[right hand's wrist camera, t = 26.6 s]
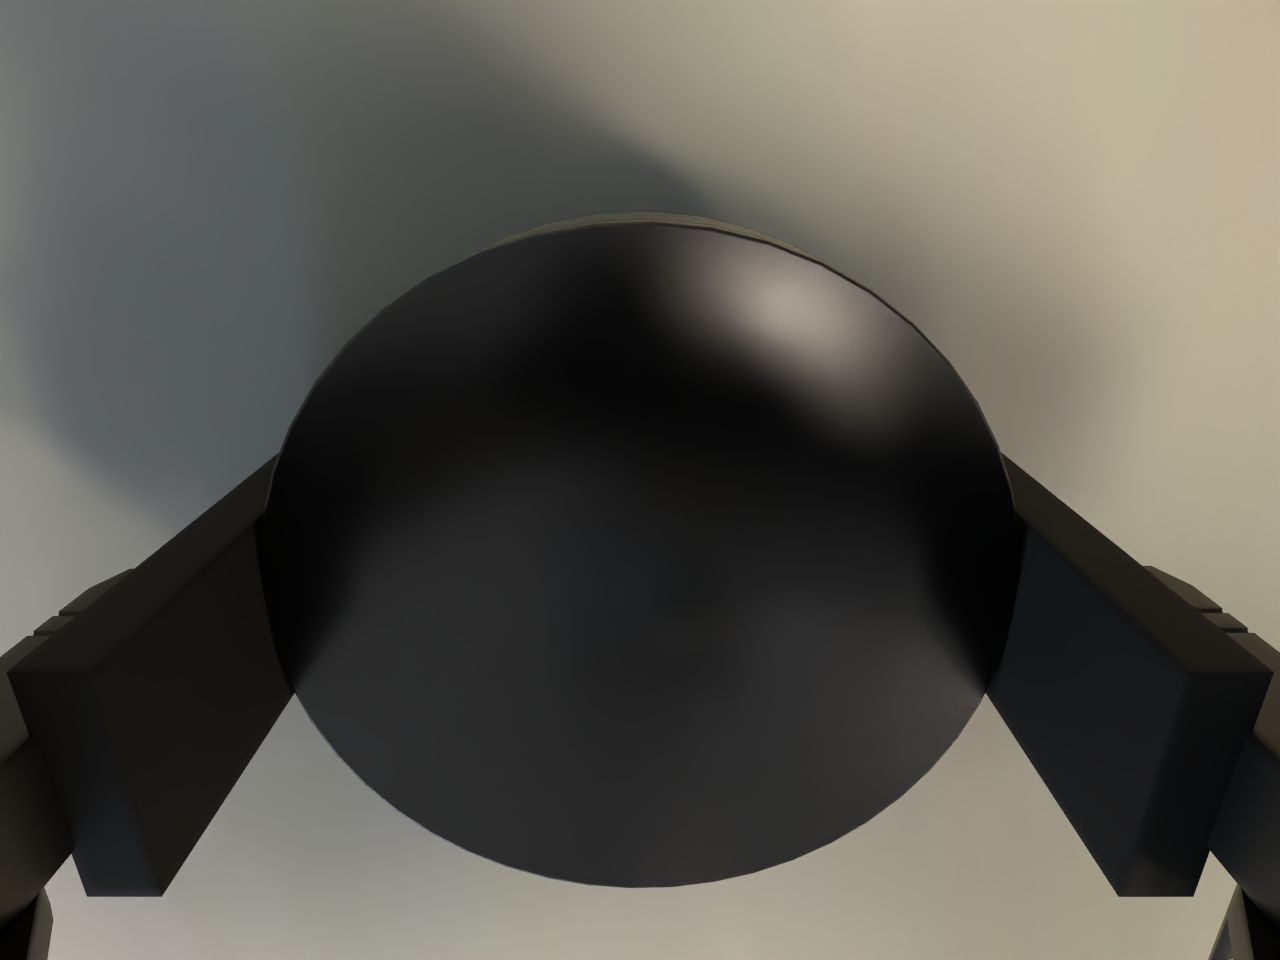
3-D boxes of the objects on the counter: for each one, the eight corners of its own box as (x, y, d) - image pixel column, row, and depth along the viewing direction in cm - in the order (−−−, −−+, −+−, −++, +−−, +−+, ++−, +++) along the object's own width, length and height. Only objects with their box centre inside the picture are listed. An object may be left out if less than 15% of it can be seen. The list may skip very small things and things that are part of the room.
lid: (731, 40, 9) (752, 14, 8) (1072, 612, 12) (1143, 685, 11) (176, 482, 11) (94, 538, 10) (580, 879, 14) (571, 976, 13)
